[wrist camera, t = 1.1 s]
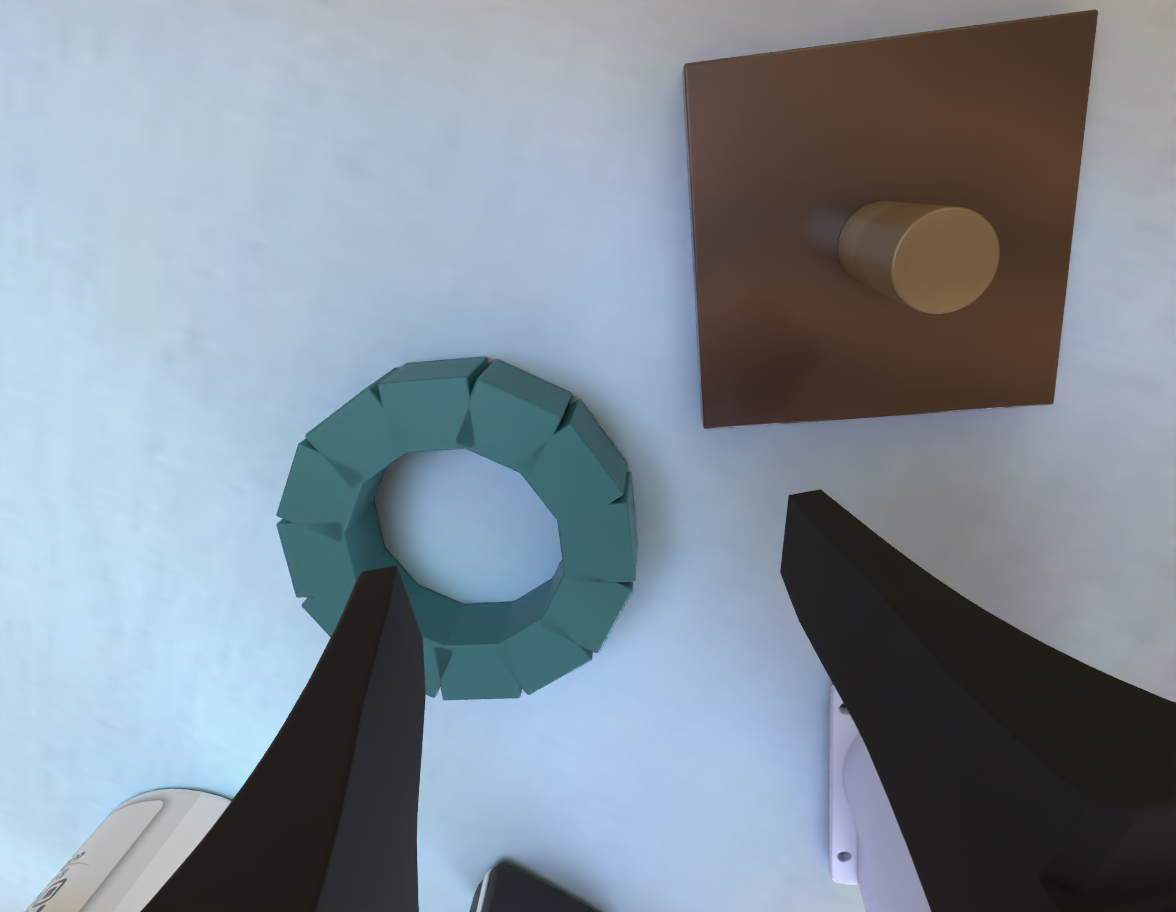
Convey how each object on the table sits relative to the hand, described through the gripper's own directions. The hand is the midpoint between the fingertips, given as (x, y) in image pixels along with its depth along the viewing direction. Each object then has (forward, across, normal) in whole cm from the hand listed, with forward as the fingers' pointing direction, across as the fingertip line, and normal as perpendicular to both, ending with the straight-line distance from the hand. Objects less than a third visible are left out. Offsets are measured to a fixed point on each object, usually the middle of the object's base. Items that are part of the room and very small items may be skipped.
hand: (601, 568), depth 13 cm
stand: (+10, -10, -1) cm, 14 cm away
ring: (+10, +3, +7) cm, 13 cm away
